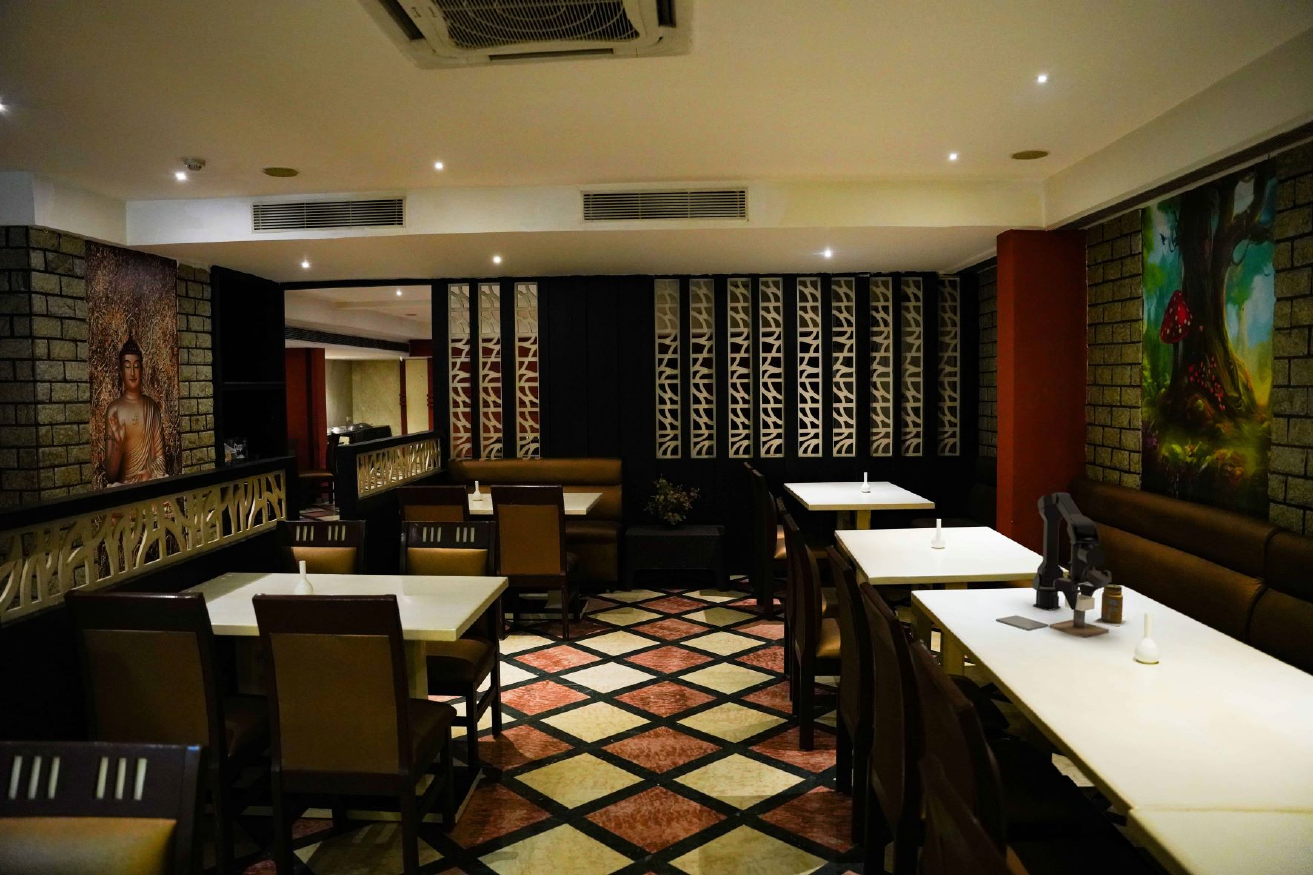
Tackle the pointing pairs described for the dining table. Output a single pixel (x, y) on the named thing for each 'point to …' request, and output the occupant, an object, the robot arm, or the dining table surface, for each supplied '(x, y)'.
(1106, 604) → the condiment
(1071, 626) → the post base
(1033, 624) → the pad
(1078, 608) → the tan cardboard carton
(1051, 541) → the robot arm
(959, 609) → the dining table surface
